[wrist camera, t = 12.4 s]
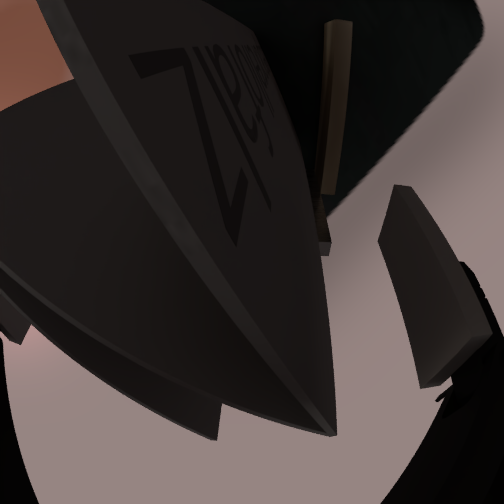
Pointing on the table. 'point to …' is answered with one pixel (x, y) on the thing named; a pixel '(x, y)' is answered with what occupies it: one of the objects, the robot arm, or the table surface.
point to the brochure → (168, 217)
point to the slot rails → (333, 102)
